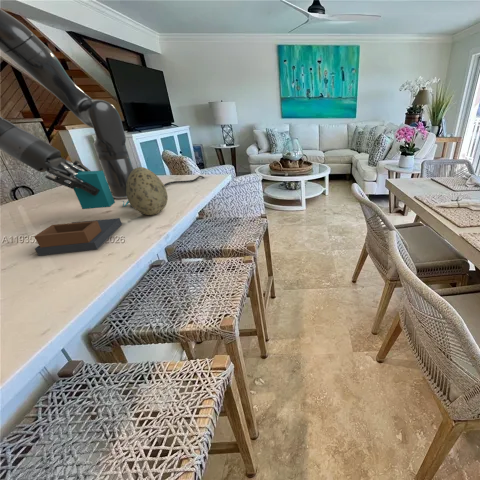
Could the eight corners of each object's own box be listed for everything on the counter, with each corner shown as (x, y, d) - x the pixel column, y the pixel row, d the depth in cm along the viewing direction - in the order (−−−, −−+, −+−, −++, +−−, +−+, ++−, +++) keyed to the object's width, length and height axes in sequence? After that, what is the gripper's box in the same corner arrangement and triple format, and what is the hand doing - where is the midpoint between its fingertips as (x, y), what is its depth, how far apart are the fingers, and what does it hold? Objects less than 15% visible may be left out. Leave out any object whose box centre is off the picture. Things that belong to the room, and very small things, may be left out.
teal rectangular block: (89, 204, 81) (74, 171, 76) (115, 202, 82) (102, 170, 78) (82, 209, 77) (67, 175, 73) (109, 206, 79) (96, 173, 74)
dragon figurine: (113, 208, 87) (135, 197, 88) (113, 195, 91) (135, 184, 92) (129, 220, 93) (150, 209, 93) (129, 207, 97) (149, 196, 97)
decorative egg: (162, 219, 82) (148, 170, 75) (126, 220, 81) (108, 171, 74) (177, 207, 91) (165, 163, 84) (145, 208, 91) (130, 163, 84)
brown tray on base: (74, 228, 76) (67, 212, 74) (122, 224, 79) (116, 208, 76) (38, 256, 62) (27, 237, 60) (97, 249, 65) (89, 231, 63)
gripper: (18, 142, 63) (96, 188, 72) (54, 136, 75) (117, 175, 84) (3, 166, 64) (82, 208, 73) (40, 156, 77) (104, 193, 85)
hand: (100, 190), depth 78 cm, fingers closed on teal rectangular block, 4 cm apart
